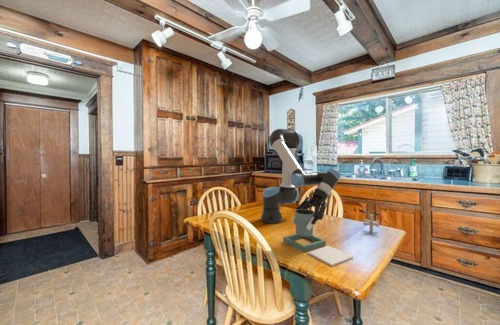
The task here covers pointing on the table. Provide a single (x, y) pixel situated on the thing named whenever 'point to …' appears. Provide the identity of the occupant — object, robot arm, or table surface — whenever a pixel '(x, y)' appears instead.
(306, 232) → the grey-green cup
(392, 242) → the table surface
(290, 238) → the square holder
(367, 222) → the pipe connector
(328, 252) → the ceramic tile
